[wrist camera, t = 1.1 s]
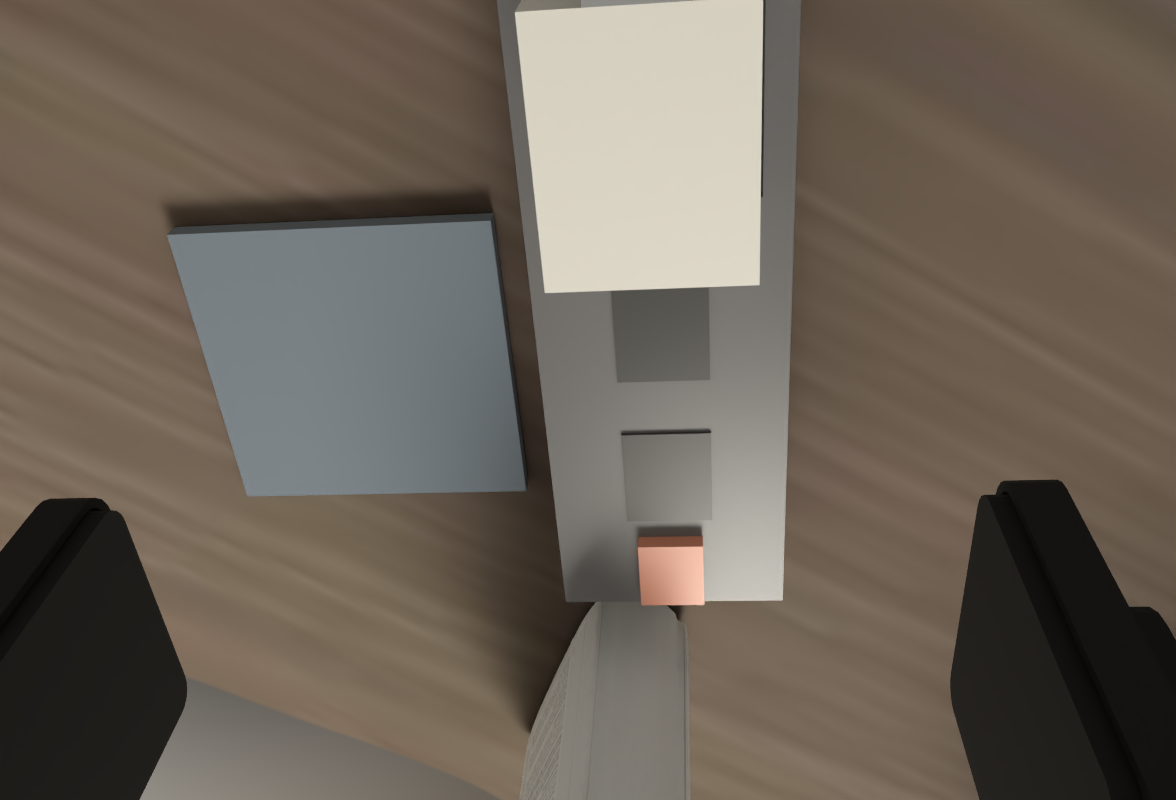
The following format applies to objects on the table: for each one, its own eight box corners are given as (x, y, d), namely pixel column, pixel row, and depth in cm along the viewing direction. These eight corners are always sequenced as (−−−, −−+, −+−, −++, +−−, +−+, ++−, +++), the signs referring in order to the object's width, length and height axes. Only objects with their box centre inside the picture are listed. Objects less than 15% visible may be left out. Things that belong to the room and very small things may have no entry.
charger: (739, -86, 25) (763, -19, 18) (738, 152, 28) (759, 284, 21) (555, -74, 26) (513, -3, 19) (575, 160, 29) (544, 293, 22)
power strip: (791, -288, 25) (812, -292, 21) (772, 521, 37) (783, 611, 33) (494, -262, 25) (462, -261, 21) (575, 524, 38) (564, 612, 34)
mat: (493, 212, 32) (490, 220, 31) (528, 480, 37) (526, 491, 37) (174, 227, 33) (167, 234, 32) (253, 486, 38) (247, 496, 38)
